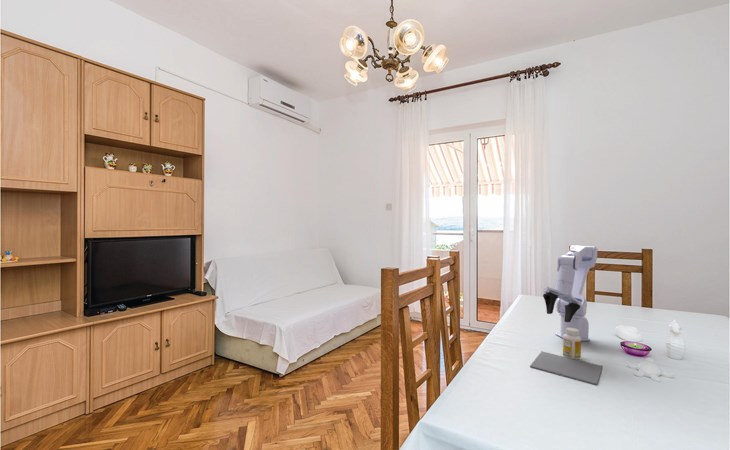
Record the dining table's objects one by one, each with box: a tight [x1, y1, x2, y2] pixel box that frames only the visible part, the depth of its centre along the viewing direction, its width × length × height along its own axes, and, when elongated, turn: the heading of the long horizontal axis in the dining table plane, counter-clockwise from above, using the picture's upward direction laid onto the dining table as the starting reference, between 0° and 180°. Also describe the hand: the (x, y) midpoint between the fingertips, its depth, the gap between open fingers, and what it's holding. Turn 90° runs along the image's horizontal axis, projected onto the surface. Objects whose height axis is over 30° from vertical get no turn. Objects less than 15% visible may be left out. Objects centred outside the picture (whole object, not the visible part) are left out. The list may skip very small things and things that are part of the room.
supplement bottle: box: [562, 328, 582, 360], centre depth 117 cm, size 5×5×10 cm
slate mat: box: [529, 350, 603, 386], centre depth 109 cm, size 16×18×1 cm
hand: (558, 317), depth 124 cm, fingers open, 7 cm apart
